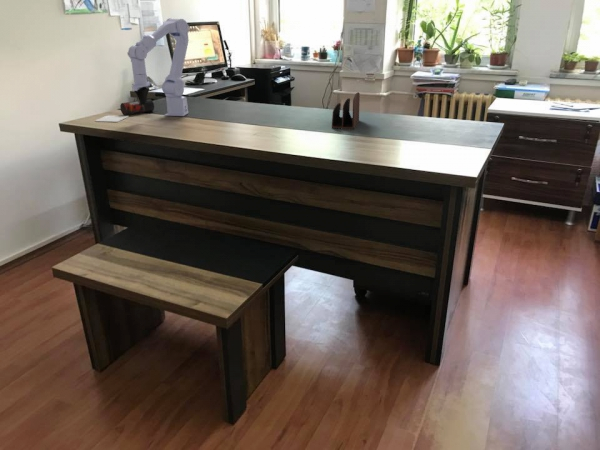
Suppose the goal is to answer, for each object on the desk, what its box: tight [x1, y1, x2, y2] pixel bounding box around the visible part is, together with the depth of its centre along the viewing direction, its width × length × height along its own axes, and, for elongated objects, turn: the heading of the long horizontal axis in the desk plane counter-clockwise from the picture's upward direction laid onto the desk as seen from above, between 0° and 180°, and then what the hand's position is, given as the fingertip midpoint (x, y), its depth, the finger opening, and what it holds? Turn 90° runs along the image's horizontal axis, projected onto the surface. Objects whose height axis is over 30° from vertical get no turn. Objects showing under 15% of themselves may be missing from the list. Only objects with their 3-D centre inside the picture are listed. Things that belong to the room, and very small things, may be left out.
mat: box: [94, 115, 130, 123], centre depth 234 cm, size 11×12×1 cm
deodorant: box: [120, 98, 155, 116], centre depth 246 cm, size 6×6×15 cm
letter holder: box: [331, 92, 361, 130], centre depth 224 cm, size 10×20×14 cm, turn 167°
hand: (143, 104), depth 229 cm, fingers closed
